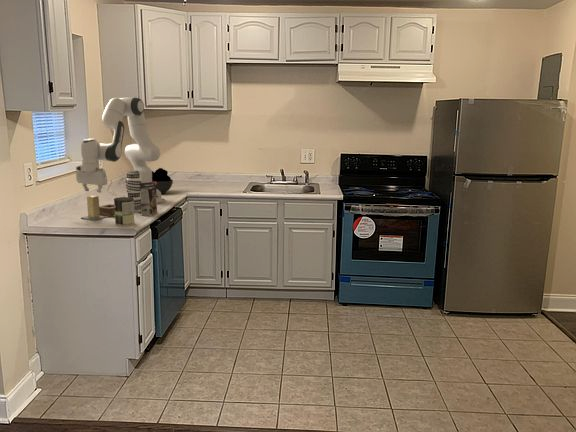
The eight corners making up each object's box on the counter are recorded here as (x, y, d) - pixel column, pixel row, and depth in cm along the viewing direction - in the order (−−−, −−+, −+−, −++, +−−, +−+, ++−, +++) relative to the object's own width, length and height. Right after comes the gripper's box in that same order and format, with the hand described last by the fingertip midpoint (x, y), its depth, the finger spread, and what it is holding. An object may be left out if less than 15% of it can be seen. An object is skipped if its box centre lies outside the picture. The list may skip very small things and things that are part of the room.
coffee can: (113, 226, 273) (111, 200, 270) (117, 222, 283) (116, 197, 280) (132, 226, 274) (131, 200, 271) (136, 221, 284) (135, 197, 281)
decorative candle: (124, 211, 311) (122, 171, 306) (131, 208, 320) (129, 169, 315) (138, 212, 310) (136, 171, 305) (144, 209, 319) (143, 169, 314)
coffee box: (151, 216, 300) (150, 189, 296) (141, 215, 301) (139, 188, 297) (157, 213, 309) (156, 186, 305) (147, 212, 310) (146, 186, 306)
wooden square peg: (94, 215, 295) (92, 195, 293) (99, 216, 293) (98, 196, 291) (88, 217, 291) (86, 196, 289) (93, 218, 289) (92, 197, 287)
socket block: (109, 212, 310) (109, 203, 309) (123, 213, 305) (122, 205, 304) (96, 215, 300) (96, 206, 299) (110, 216, 296) (109, 208, 295)
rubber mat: (94, 215, 299) (94, 214, 299) (107, 217, 295) (107, 216, 294) (80, 218, 290) (80, 217, 290) (93, 220, 286) (93, 219, 286)
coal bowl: (175, 191, 390) (174, 167, 386) (170, 195, 370) (170, 170, 366) (148, 191, 388) (147, 166, 385) (142, 195, 369) (141, 169, 365)
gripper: (109, 168, 285) (110, 192, 288) (82, 165, 293) (84, 189, 296) (100, 169, 279) (102, 194, 282) (73, 167, 288) (75, 191, 291)
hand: (92, 191), depth 289 cm, fingers open, 8 cm apart
